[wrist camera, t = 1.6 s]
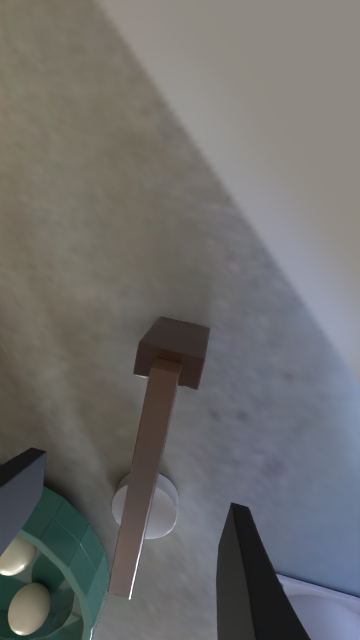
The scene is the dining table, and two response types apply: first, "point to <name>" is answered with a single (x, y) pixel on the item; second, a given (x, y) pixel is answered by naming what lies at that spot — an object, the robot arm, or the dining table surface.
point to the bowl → (60, 572)
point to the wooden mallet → (154, 444)
